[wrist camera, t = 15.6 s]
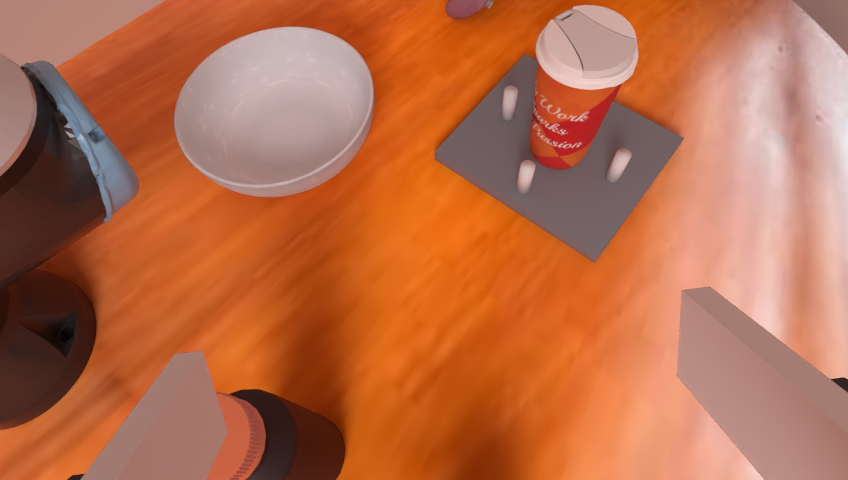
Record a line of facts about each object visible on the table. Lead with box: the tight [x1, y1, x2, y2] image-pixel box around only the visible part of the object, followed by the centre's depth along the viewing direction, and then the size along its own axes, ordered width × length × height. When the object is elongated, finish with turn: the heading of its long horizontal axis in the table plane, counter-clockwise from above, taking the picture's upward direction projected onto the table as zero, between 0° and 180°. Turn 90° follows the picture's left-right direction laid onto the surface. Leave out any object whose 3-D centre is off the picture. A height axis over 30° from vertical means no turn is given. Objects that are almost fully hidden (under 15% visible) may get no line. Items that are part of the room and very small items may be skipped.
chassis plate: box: [435, 54, 684, 262], centre depth 54 cm, size 20×17×6 cm
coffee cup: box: [530, 5, 638, 170], centre depth 48 cm, size 8×8×15 cm
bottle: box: [206, 389, 345, 480], centre depth 36 cm, size 7×7×20 cm
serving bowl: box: [174, 27, 374, 197], centre depth 56 cm, size 21×21×7 cm
